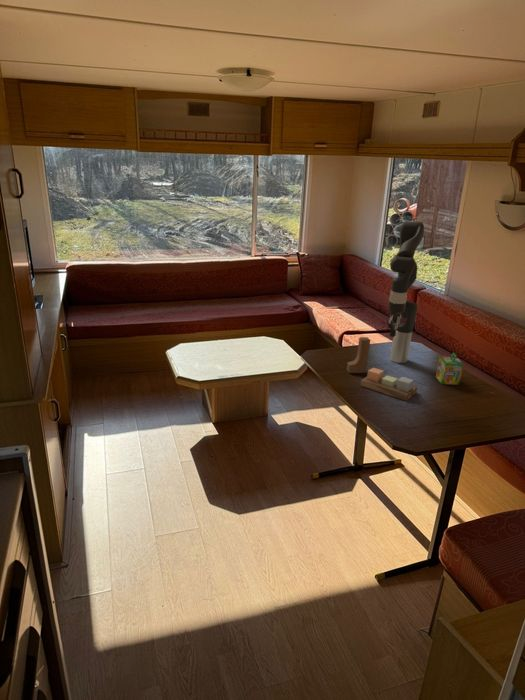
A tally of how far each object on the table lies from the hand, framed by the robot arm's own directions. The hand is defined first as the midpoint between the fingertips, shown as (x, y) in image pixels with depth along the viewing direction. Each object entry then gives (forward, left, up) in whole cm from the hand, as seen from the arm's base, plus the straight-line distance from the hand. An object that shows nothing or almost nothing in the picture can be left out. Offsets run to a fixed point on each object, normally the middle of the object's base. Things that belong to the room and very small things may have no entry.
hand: (392, 336), depth 233 cm
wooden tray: (+5, +4, -24) cm, 25 cm away
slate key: (+5, +11, -22) cm, 25 cm away
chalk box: (-26, +21, -25) cm, 42 cm away
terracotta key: (+5, -4, -22) cm, 23 cm away
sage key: (+5, +4, -24) cm, 25 cm away
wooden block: (-3, -18, -25) cm, 30 cm away
